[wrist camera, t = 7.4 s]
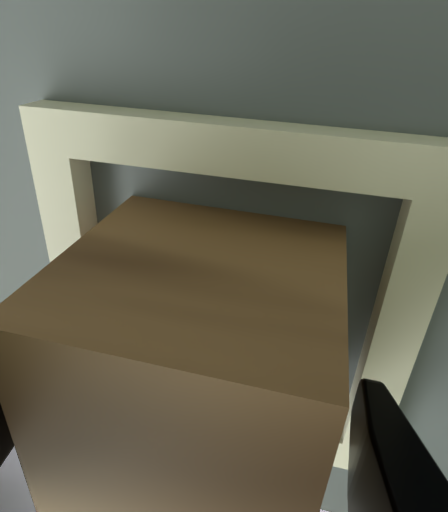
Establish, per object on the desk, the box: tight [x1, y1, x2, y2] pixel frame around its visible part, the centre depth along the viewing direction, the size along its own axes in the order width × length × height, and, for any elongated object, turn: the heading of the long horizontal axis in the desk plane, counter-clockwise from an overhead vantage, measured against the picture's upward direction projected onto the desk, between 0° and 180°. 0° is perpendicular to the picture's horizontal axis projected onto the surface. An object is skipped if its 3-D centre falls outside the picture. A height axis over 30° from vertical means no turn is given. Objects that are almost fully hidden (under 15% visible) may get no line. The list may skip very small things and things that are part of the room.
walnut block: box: [0, 196, 349, 512], centre depth 9 cm, size 5×5×5 cm
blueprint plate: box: [0, 0, 448, 512], centre depth 11 cm, size 16×16×2 cm
